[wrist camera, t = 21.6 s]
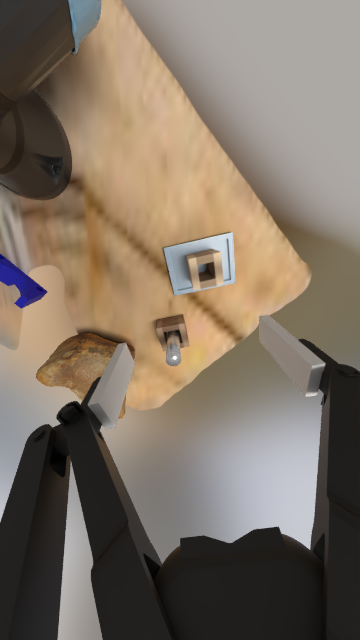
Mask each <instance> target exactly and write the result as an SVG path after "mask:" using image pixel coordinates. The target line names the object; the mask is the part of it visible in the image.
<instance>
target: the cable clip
mask: <svg viewBox="0 0 360 640" xmlns="http://www.w3.org/2000/svg"><path fill="white" fill-rule="evenodd" d="M0 281H1V282H3V283H4V284H6V285H7V286H10V285H13V284H15V285H16V287H17V288H18V289H19V291H20V294H21V297H20V298H19V299H18V300H17V301H16V302H15V303H14V304H16V305H17V306H19V307H20V308H23V307H25V306H27V305H30V304H31V303H34V302H36V301H38V300H40V299H41V298H42V297H43V296H44V295H45V294H46V293H47V291H46V290H45V289H44V288H43V287H41V286H40V285H39V284H38V283H36V282H35V281H34V280H33V279H32V278H30V277H29V276H27V275H26V274H25V273H23V272H22V271H21V270H20V269H18V268H17V267H16V266H15V265H14V264H12V263H11V262H10V261H9V260H7V259H6V258H5V257H4V256H2V255H1V254H0Z"/></svg>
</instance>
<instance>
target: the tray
mask: <svg viewBox="0 0 360 640" xmlns="http://www.w3.org/2000/svg"><path fill="white" fill-rule="evenodd" d="M208 249H214V250H217V251H220V252H221V257H222V269H223V280H224V284H222V285H217V286H213V287H208V288H203V289H198V290H193V287H192V284H191V282H190V277H189V271H188V266H187V260H186V254H191V253H195V252H200V251H204V250H208ZM164 252H165V257H166V261H167V265H168V270H169V274H170V278H171V282H172V287H173V291H174V295H175V296H176V295H181V294H185V293H190V292H195V291H200V290H204V289H209V288H214V287H219V286H223V285H228V284H233V283H235V264H234V245H233V232H230V233H226V234H222V235H217V236H213V237H209V238H204V239H200V240H196V241H191V242H187V243H182V244H178V245H174V246H169V247H165V248H164ZM197 268H198V273H200V272H205V271H208V265H207V263H205V264H201V265H197Z"/></svg>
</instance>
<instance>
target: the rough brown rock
mask: <svg viewBox="0 0 360 640" xmlns="http://www.w3.org/2000/svg"><path fill="white" fill-rule="evenodd" d="M118 344H119V343H115V342H112V341H109V340H106V339H104V338H102V337H100V336H97V335H95V334H92V333H85V334H80V335H76V336H73V337H70V338H68V339H67V340H65V341H64V342H63V343H61V344H60V345H59V346H58V348H57V349H56V350H55V352H54V353H53V354H52V355H51V356H50V358H49V359H48V360H47V361H46V363H45V364H44V365H43V366H41V367H40V369H39V370H38V372H37V374H36V378H37V379H38V380H39V381H40V382H41V383H42V384H44V385H46V386H50V387H52V386H62V387H67V388H70V389H71V390H72V391H73V392H74V393H75V394H77V396H78V397H79V398H80V399H81V400H82V401H83V399H84V398H85V396H86V394H87V392H88V390H89V389H90V387H91V385H92V383H93V382H94V381H95V380H96V379H97V377H101V376H102V375H103V373H104V371H105V369H106V367H107V365H108V363H109V362H110V360H111V358H112V356H113V354H114V352H115V350H116V348H117V346H118ZM127 347H128V349H129V351H130V353H131V356H132V358H133V360H134V357H135V350H134V349H133V348H132V347H129V346H127ZM125 401H126V394H125V398H124V401H123V404H122V408H121V411H120V414H119V418H118V419H120V418H122V417H123V416H124V414H125Z"/></svg>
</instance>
